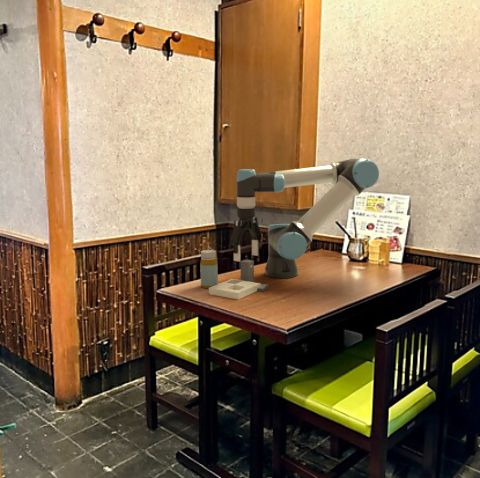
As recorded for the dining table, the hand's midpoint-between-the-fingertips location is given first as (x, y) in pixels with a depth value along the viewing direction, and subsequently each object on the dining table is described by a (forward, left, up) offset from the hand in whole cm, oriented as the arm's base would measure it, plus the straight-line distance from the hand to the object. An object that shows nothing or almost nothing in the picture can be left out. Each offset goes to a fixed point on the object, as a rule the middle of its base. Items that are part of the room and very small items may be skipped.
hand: (246, 258), depth 205 cm
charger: (0, 0, -11) cm, 11 cm away
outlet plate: (+12, +2, -11) cm, 16 cm away
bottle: (+11, -11, -12) cm, 19 cm away
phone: (+3, +9, -11) cm, 15 cm away
